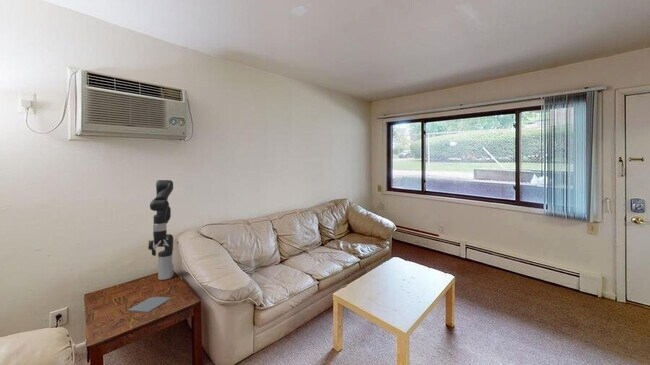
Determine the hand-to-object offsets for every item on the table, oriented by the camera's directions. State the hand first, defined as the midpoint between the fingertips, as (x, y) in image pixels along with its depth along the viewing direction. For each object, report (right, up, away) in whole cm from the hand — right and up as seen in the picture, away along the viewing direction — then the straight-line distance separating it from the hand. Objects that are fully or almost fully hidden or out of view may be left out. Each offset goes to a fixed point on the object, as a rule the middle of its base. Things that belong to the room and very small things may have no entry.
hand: (160, 253), depth 169 cm
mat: (+2, -28, -12) cm, 31 cm away
